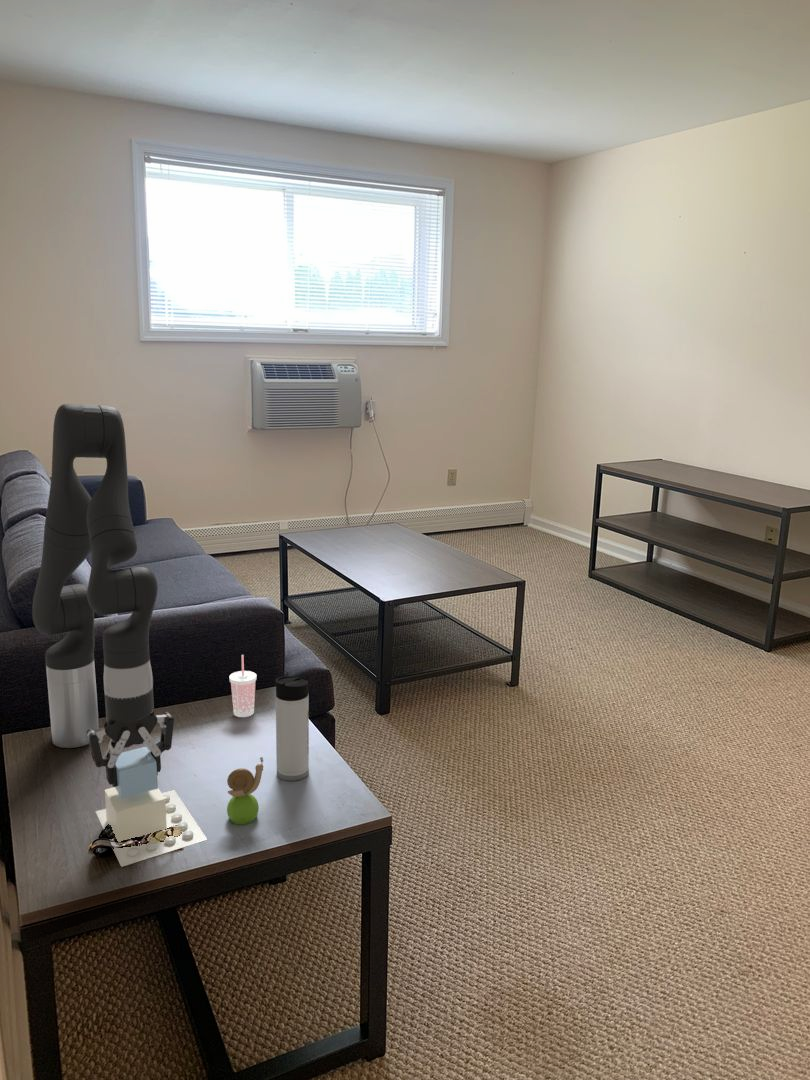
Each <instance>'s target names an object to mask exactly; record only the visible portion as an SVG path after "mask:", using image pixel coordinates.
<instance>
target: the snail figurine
mask: <svg viewBox="0 0 810 1080" xmlns="http://www.w3.org/2000/svg"><path fill="white" fill-rule="evenodd" d="M259 761H260V762H261V763H257V764H256V766H255V768H254V770H255V773H254V774H253V773H252V772H251V770H249V769H246V768H237V769H234V770H232V772H230V773H229V775H228V776H227V782H226V783H227V786H228V788H229V790H227V794H229V795H230V796H232V797H231V798H230V799H229V801H228V803H227V805H226V806H227V807H226V813H227V816H228V819H229V820H230V821H231V822H232V823H233V824H236V825H248V824H250V823H252V822H253V821H255V819H256V817H257V816H258V813H259V806H260V805H259V803H258V802H259V801H258V800H257V798H256V796H254V795H253V794H252V793H254V792H256V790H257V789H258V787H259V785H260V783H261V780H262V775H263V771H264V765H263V762H264V757H263V756H260V758H259Z"/></svg>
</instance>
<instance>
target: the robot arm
mask: <svg viewBox="0 0 810 1080" xmlns="http://www.w3.org/2000/svg"><path fill="white" fill-rule="evenodd" d="M126 446H127V445H126V434H125V427H124V420H123V418H122V415H121V413H120V411H119V410H118V409H117V408H116V407H114V406H110V405H102V404H101V405H99V404H85V403H63V404H60V405H59V406H58V408H57V410H56V411H55V415H54V420H53V433H52V453H51V454H52V456H51V458H52V459H51V461H52V462H51V474H50V475H51V476H50V478H51V480H50V485H49V486H50V487H49V493H48V494H49V495H48V501H47V508H46V513H45V519H44V520H45V523H44V530H43V542H42V553H41V554H42V555H41V562H40V568H39V572H38V576H37V580H36V586H35V589H34V594H33V598H32V599H33V600H32V606H31V607H32V612H31V613H32V621H33V624H34V627H35V629H36V630H37V632H39V633H40V634H42V635H46V636H51V635H58V634H63V633H67V634H66V635H65V636H64V637H63V638H62V639H60V640H59V641H58V642H56V643H54V644H53V645H51V646H50V647H48V649H47V650H46V651H45V655H44V660H45V668H46V669H45V670H46V680H47V690H48V691H47V694H48V705H49V718H50V731H51V741H52V744H53V745H54V746H56V747H59V748H65V749H72V748H79V747H85V746H87V745H88V746H89V750H90V754H91V758H92V761H93V762H94V764H95V766H96V768H102V767H105V778H106V780H107V783H108V784H109V785H110V786H111V787H112V788H113V787H117V786H118V782H117V770H116V766H115V764H116V761H117V759H118V757H119V756H120V755H121V753H123V751H124V749H125V748H129V747H131V746H133V745H138V746H139V745H142V744H144V743H146V746H147V748H148V749H149V752H150V753H151V755H152V756H153V758H154V759H155V760H156V766H157V777H158V776H159V773H160V772H161V770H162V762H161V760H162V759H161V755H162V753H164V752H165V751H170V750H171V748H172V745H173V744H172V743H173V736H174V735H173V732H174V725H175V724H174V723H175V718H174V717H173V716H172V714H170V712H169V711H165V712H163V714H156V713H155V704H154V703H155V701H154V687H153V685H154V677H153V671H152V665H151V659H150V641H149V638H150V637H149V635H150V634H149V633H150V627H151V621H152V617H153V614H154V613H153V612H154V609H155V605H156V603H157V602H156V601H157V597H158V589H159V588H158V586H159V585H158V581H157V578H156V575H155V574H154V572H153V571H152V570H151V569H149V568H148V567H145V566H137V567H136V566H135V567H127V568H126V567H125V568H119V569H118V568H116V569H110V568H112V567H114V566H116V565H119V564H123V563H126V562H127V561H129V560H131V559H132V558H134V557H135V555H136V554H137V552H138V545H137V538H136V534H135V531H134V530H135V529H134V523H133V520H132V515H131V508H130V503H129V480H128V461H127V447H126ZM76 458H88V459H89V458H91V459H92V458H95V459H96V458H98V459H106V470H105V473H104V476H103V478H102V480H101V481H100V484H99V485H98V487H97V489H96V491H95V492H94V494H93V495H92V497H91V495H90V493H89V492H88V491H87V489H86V488H85V486H84V485H83V484H82V482H81V479H79V477H78V474H77V472H76V471H75V470H76V469H75V467H74V461H75V459H76ZM90 554H91V565H90V567H91V568H90V574H89V579H88V584H87V585H85V584H82V583H74V584H68V585H65V584H66V582H67V581H68V579H69V578H70V576H71V575H73V574H74V572H75V571H76V570H77V569H78V568H80V567H79V566H80V565H82V564H83V562H84V561H85V560H86V559H87V558H88V556H89V555H90ZM130 612H131V615H130V616H129V617H128V618H127V619H125V620H124V621H121V622H117V623H116V624H113V625H110V626H108V627H107V628H106V629H104V631H103V633H102V651H103V652H102V653H103V662H104V663H103V691H104V693H103V694H104V705H105V723H104V724H103V727H100V726H99V711H98V709H99V708H98V693H97V682H96V668H95V613H96V614H98V615H100V616H109V615H116V614H125V613H130ZM157 724H158V725H159V727H160V728H161V729H160V739H159V742H157V743H156V742H155V741H154V739H153V738H152V736H151V734H152V732H153V730H154V728H155V726H156V725H157ZM105 735H107V737H108V738H110V740H109V743H108V745H107V750H106V753H105V755H102V751H101V750H102V749H101V745H100V744H102V742H103V741H104V736H105Z"/></svg>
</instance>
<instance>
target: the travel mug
mask: <svg viewBox="0 0 810 1080" xmlns="http://www.w3.org/2000/svg"><path fill="white" fill-rule="evenodd" d="M309 695H310V693H309V681H308V680H305V679H303V678H301V677H300V676H296V675H285V676H279V677H277V678H276V679H275V741H276V742H275V747H276V748H275V749H276V751H275V752H276V753H275V754H276V775H277V777H278V778H279V779H281V780H284V781H287V782H288V781H289V782H294V781H299V780H303V779H305V778H306V777H307V776H308V774H309V771H310V769H309V768H310V766H309V765H310V763H309V762H310V761H309V760H310V759H309V755H310V753H309V751H310V750H309V749H310V746H309V744H310V743H309V741H310V739H309V738H310V737H309V736H310V735H309V733H310V732H309V731H310V730H309V729H310V728H309V727H310V726H309V721H310V720H309V717H310V716H309V715H310V711H309V710H310V709H309V706H310V705H309V700H310V699H309V698H310V697H309Z"/></svg>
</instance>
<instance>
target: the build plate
mask: <svg viewBox="0 0 810 1080" xmlns="http://www.w3.org/2000/svg"><path fill="white" fill-rule="evenodd" d="M161 793H162V794H163V796H164V797H165V803H166V823H167V828H169V827H171V826H173V825H174V826H175V825H177V828H178V829H181V830H183V832H182V834H181V835H180V836H178V837H174V836H169V837H166V838H165V840H164V842H158V843H157V842H149V843H147V844H142V845H140V846H139V844H138V846H131V847H123V848H114V849H113V848H112V850H113V852H114V854H115V856H116V858H117V861H118V862H119V865H120V867H121V868H122V867H126V866H129V865H132V864H135V863H138V862H141V861H145V860H148V859H151V858H154V857H157V856H160V855H163V854H167V853H170V852H173V851H176V850H180V849H182V848H185V847H188V846H193V845H196V844H198V843H202V842H206V841H207V840H208V838H207V836H206V835H205V833H204V832H203V831H202V829H201V828H200V826H199V825H198V823H197V822H196V820H195V819H194V817H193V816H192V814H191V813H190V811H189V810H188V808H187V807H186V805H185V803H184V802H183V800H182V799H181V798H180V796H179V795H178V793H177V792H176V790H175V789H173V790H168V791H165V792H161ZM94 812H95V814H96V816H97V818H98V821H99V823H100V824H101V826H102V829H103V830H104V829H105V827H106V826H107V825H108V823H107V818H106V808H102V809H100V810H99V809H98V810H95V811H94Z"/></svg>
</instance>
